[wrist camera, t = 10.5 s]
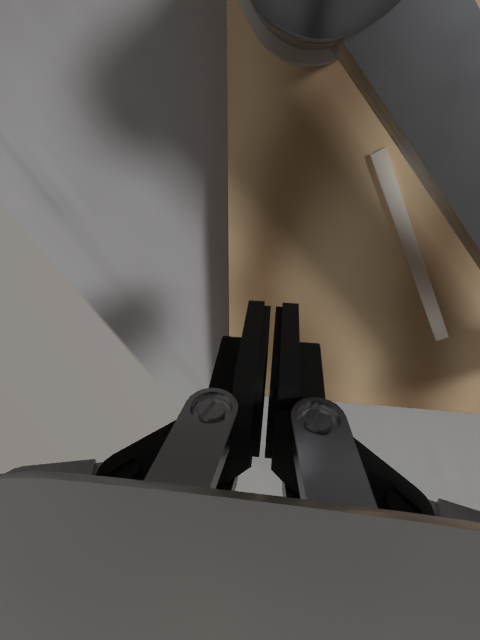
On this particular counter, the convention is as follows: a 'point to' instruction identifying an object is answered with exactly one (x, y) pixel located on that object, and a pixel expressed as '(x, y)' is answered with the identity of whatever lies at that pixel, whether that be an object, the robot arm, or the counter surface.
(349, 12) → the lever
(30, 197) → the counter surface
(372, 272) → the base
